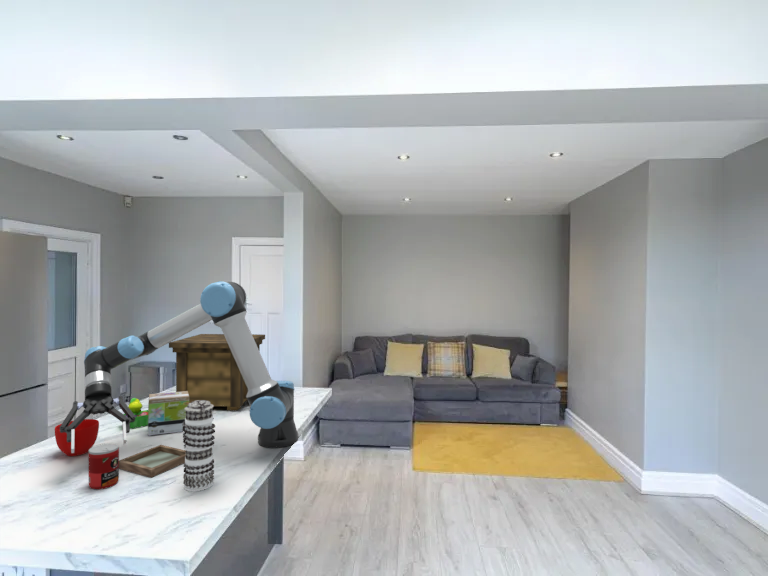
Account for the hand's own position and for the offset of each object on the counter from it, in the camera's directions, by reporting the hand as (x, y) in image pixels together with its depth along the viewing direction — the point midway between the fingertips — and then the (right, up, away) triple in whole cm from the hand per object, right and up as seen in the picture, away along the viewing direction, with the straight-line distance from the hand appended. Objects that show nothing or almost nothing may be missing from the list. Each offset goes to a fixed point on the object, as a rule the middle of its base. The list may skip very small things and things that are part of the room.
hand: (99, 446), depth 136 cm
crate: (+6, -9, +86) cm, 86 cm away
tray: (+12, -10, +11) cm, 19 cm away
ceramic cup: (-20, -10, +18) cm, 29 cm away
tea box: (0, -10, +44) cm, 46 cm away
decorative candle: (+32, -10, -4) cm, 34 cm away
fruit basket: (-17, -9, +50) cm, 53 cm away
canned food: (+4, -10, -4) cm, 11 cm away
